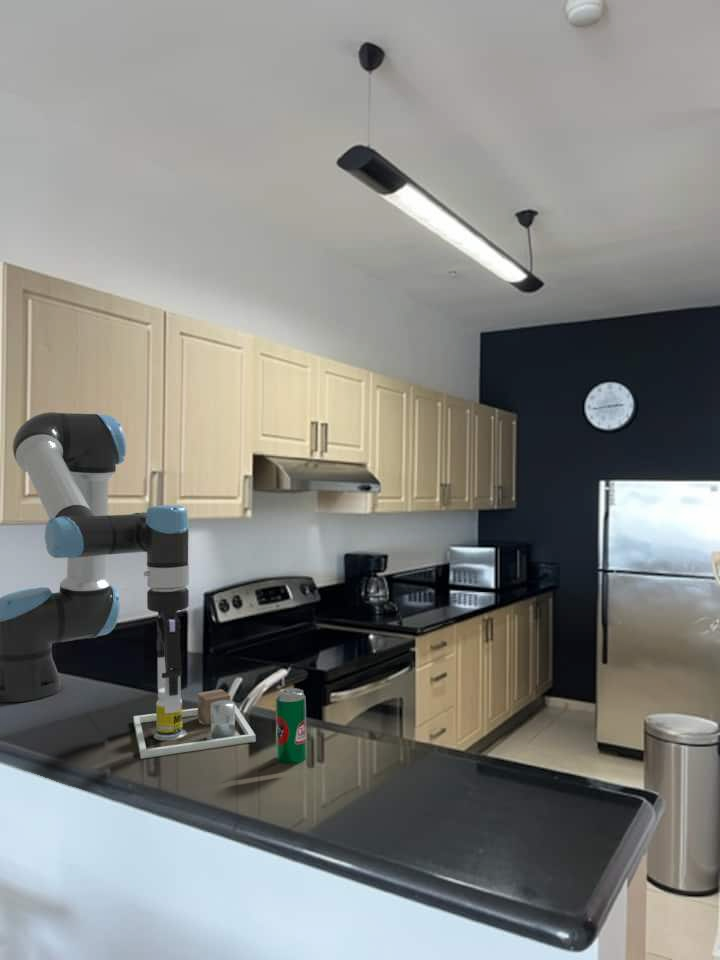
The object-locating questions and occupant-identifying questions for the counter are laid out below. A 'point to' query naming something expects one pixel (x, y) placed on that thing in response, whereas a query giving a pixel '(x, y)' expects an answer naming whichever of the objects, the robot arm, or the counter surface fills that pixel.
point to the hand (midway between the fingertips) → (168, 700)
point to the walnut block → (209, 703)
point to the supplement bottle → (167, 719)
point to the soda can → (291, 726)
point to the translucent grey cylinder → (222, 719)
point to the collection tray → (186, 747)
